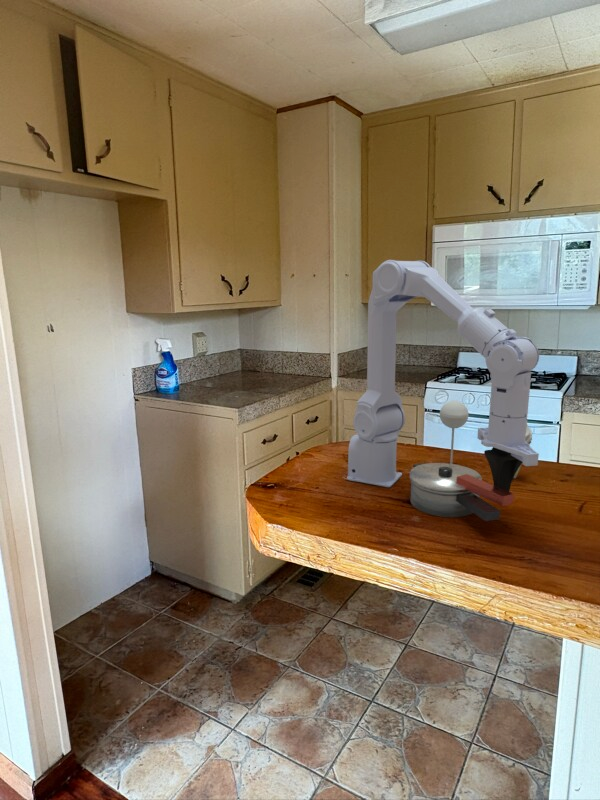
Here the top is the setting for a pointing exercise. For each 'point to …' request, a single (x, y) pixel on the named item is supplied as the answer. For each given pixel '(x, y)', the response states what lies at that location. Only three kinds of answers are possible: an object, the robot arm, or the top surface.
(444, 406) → the lollipop
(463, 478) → the lid
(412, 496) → the pot
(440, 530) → the top surface
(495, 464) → the robot arm
